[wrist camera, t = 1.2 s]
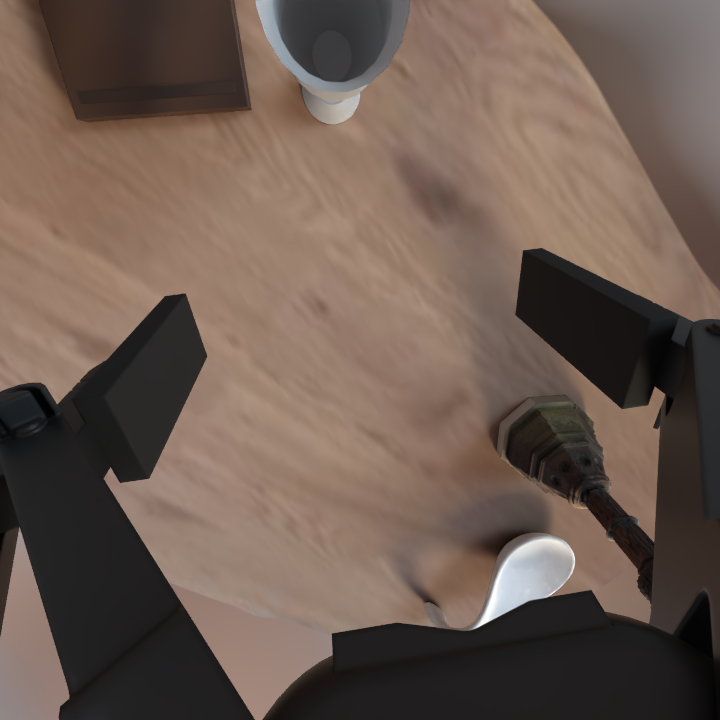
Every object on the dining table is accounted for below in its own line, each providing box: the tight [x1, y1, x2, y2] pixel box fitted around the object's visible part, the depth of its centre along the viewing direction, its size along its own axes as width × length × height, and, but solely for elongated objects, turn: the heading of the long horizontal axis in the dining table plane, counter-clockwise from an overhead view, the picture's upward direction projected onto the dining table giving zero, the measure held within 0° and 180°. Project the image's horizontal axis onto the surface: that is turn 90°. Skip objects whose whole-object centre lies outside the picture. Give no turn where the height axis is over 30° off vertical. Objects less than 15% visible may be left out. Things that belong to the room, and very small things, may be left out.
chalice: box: [256, 0, 410, 124], centre depth 25 cm, size 7×7×18 cm
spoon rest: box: [424, 533, 575, 631], centre depth 56 cm, size 24×12×7 cm, turn 134°
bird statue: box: [497, 395, 654, 604], centre depth 33 cm, size 17×13×35 cm
